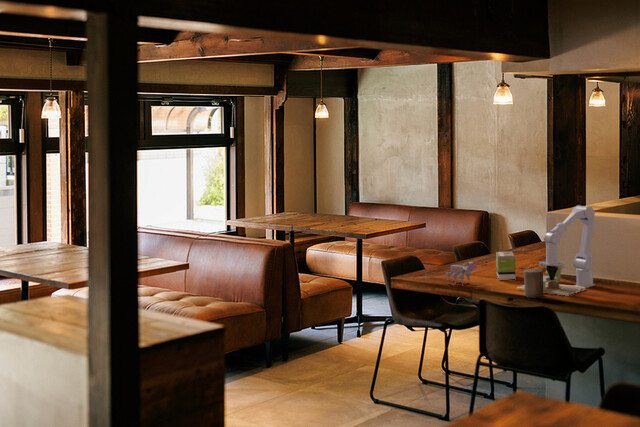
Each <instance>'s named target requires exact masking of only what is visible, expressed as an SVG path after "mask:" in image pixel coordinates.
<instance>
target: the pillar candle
mask: <svg viewBox="0 0 640 427" xmlns="http://www.w3.org/2000/svg"><path fill="white" fill-rule="evenodd" d="M543 276H544V270H543V269H539V268H530V269H529V268H528V269H524V271H523V277H524V278H523V279H524V280H523V282H524V284H523V285H524V289H525V291H524V297H525V296H526V297H525V298H529V299H530V298H531V299H534V298H535V299H537V298H536V297H540V296H543V297H544V294H543ZM540 298H541V297H540Z"/></svg>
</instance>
